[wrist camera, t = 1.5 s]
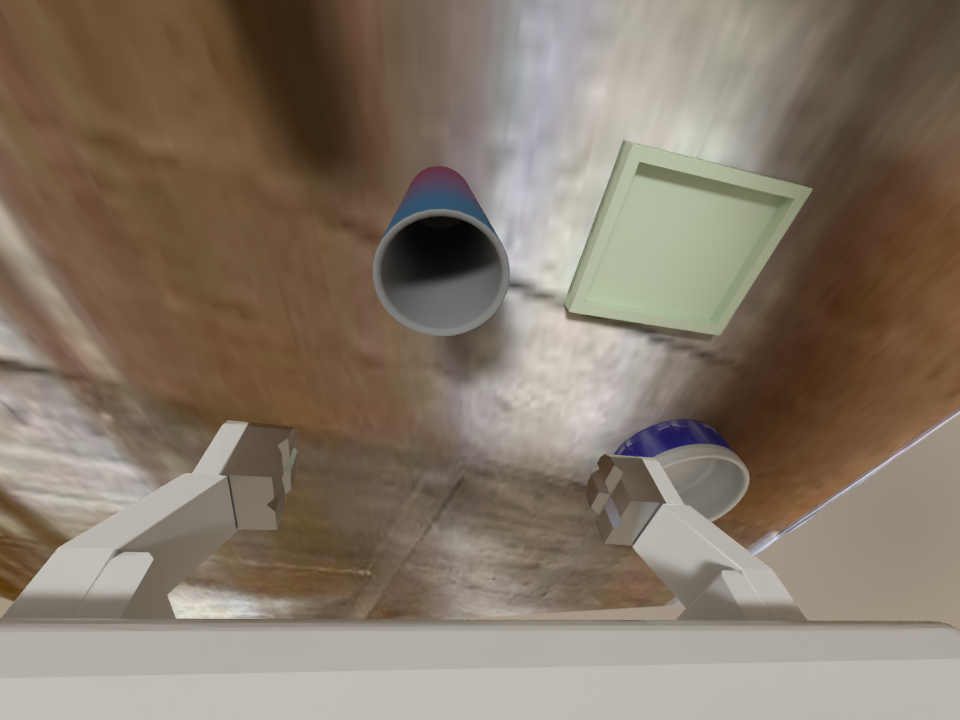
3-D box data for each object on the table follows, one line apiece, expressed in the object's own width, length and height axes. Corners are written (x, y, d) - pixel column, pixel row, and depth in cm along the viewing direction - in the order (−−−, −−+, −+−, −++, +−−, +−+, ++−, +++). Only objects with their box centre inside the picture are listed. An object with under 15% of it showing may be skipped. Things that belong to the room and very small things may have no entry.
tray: (623, 140, 31) (632, 144, 30) (797, 183, 34) (813, 188, 33) (564, 302, 39) (569, 312, 38) (710, 326, 42) (720, 335, 41)
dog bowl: (599, 436, 51) (617, 476, 46) (725, 403, 49) (757, 441, 44) (611, 506, 59) (627, 546, 54) (718, 480, 58) (744, 518, 53)
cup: (470, 250, 35) (488, 347, 23) (390, 231, 34) (364, 323, 22) (492, 167, 32) (528, 229, 19) (404, 141, 30) (383, 191, 18)
